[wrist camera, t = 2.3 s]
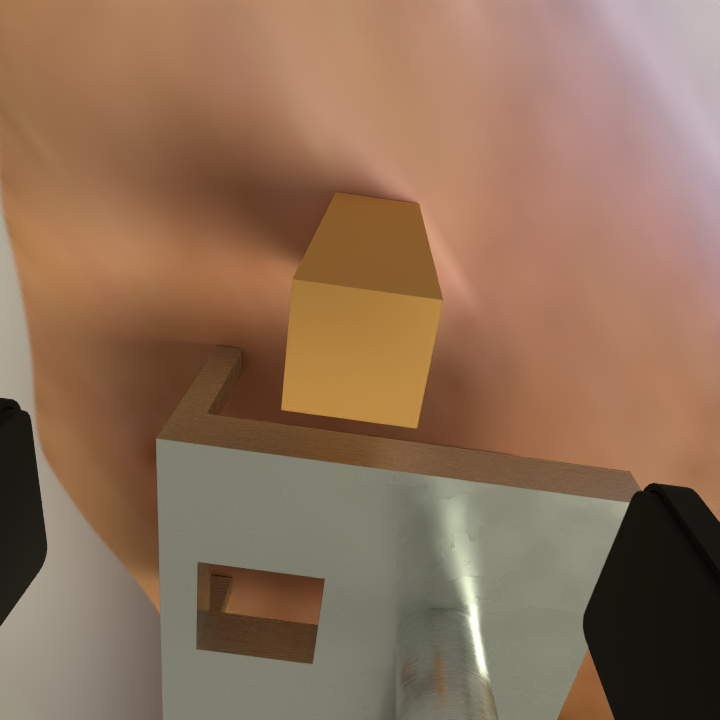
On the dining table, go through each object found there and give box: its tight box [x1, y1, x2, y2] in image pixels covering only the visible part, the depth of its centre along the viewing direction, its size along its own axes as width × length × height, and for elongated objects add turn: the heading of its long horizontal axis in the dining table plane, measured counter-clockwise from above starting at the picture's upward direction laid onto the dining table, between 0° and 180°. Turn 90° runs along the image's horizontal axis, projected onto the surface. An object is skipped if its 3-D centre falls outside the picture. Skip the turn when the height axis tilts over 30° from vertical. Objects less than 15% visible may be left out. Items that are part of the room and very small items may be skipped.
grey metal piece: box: [156, 345, 642, 720], centre depth 23 cm, size 16×18×18 cm
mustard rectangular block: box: [281, 192, 443, 428], centre depth 20 cm, size 4×4×12 cm
